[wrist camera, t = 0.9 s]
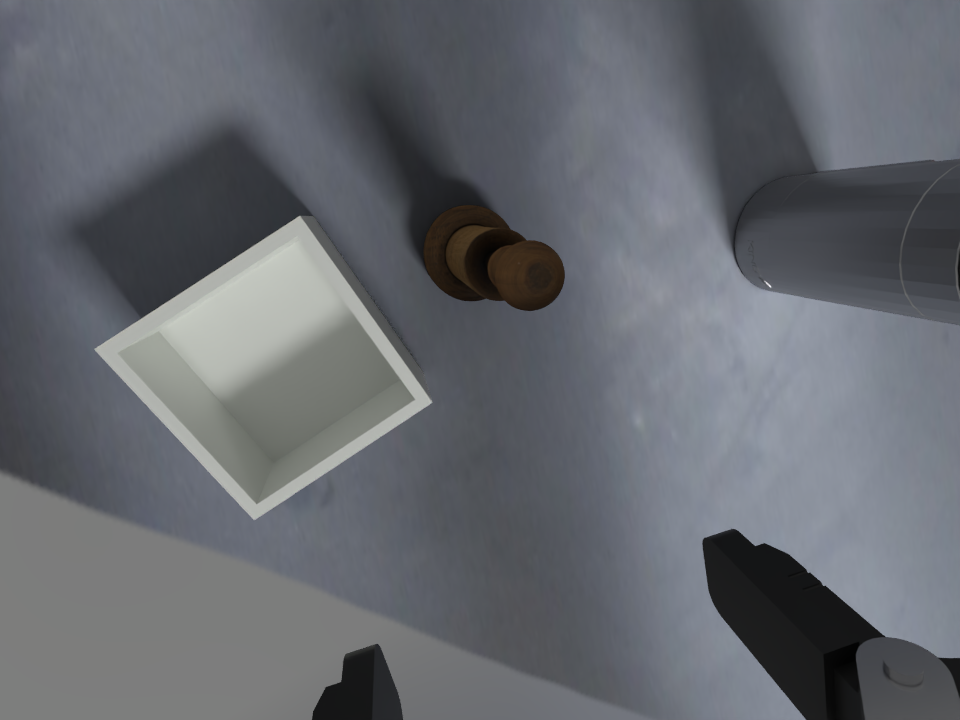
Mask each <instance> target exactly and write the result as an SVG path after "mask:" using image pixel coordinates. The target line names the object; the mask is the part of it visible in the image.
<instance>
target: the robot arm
mask: <svg viewBox="0 0 960 720" xmlns="http://www.w3.org/2000/svg"><path fill="white" fill-rule="evenodd" d="M735 252H736V258H737V261H738V264H739V267H740V269H741V270H742V272H743V274H744V276H745V277H746V278H747V279H748V280H749V281H750V282H751V283H752V284H754V285H756V286H757V287H759V288H761V289H764V290H768V291H772V292H778V293H783V294H789V295H794V296H800V297H804V298H810V299H815V300H821V301H826V302H832V303H837V304H843V305H848V306H854V307H860V308H865V309H871V310H876V311H882V312H887V313H893V314H899V315H904V316H910V317H915V318H921V319H926V320H932V321H937V322H943V323H950V324H955V325H960V159H954V160H944V161H934V160H925V161H915V162H906V163H896V164H887V165H878V166H868V167H859V168H849V169H840V170H831V171H821V172H816V173H815V174H807V175H798V176H789V177H782V178H779V179H777V180H774V181H772V182H770V183H768V184H767V185H765V186H764V187H762V188H761V189H760V190H759V191H758V192H757V193H756V194H755V195H754V196H753V197H752V198H751V199H750V201H749V202H748V204H747V205H746V206H745V208H744V210H743V212H742V214H741V217H740V219H739V222H738V226H737V229H736V235H735ZM703 552H704V560H705V567H706V575H707V582H708V589H709V593H710V596H711V599H712V601H713V603H714V605H715V607H716V609H717V611H718V612H719V614H720V615H721V617H722V618H723V619H724V620H725V621H726V623H727V624H728V625H729V626H730V628H731V629H732V630H733V631H734V632H735V634H736V635H737V636H738V637H739V638H740V640H741V641H742V642H743V643H744V645H745V646H746V647H747V648H748V649H749V651H750V652H751V653H752V654H753V656H754V657H755V658H756V659H757V660H758V662H759V663H760V664H761V665H762V666H763V668H764V669H765V670H766V671H767V673H768V674H769V675H770V676H771V677H772V679H773V680H774V681H775V682H776V683H777V685H778V686H779V687H780V688H781V690H782V691H783V692H784V693H785V694H786V696H787V697H788V698H789V699H790V700H791V702H792V703H793V704H794V705H795V707H796V708H797V709H798V710H799V711H800V713H801V714H802V715H803V716H804V718H805V719H806V720H960V658H938V657H936V656H935V655H934V654H932V653H931V652H929V651H928V650H926V649H924V648H923V647H921V646H919V645H916V644H914V643H911V642H908V641H905V640H902V639H897V638H889V637H885V636H884V635H882V634H881V633H880V632H879V631H878V630H877V629H875V628H874V627H873V626H872V625H871V624H870V623H868V622H867V621H866V620H865V619H864V618H862V617H861V616H860V615H859V614H858V613H857V612H855V611H854V610H853V609H852V608H851V607H850V606H848V605H847V604H846V603H845V602H844V601H843V600H841V599H840V598H839V597H838V596H837V595H836V594H834V593H833V592H832V591H831V590H830V589H829V588H827V587H826V586H823V585H822V583H821V582H820V581H819V580H818V579H817V578H816V577H814V576H813V575H812V574H811V573H808V572H807V570H806V569H805V568H804V567H803V566H802V565H800V564H799V563H798V562H797V561H796V560H795V559H793V558H792V557H791V556H790V555H789V554H787V553H785V552H783V551H780V550H778V549H776V548H774V547H772V546H770V545H767V544H765V543H764V544H761V545H758V546H754V545H753V544H752V543H751V542H750V541H749V540H748V539H746V538H745V537H744V536H743V535H742V534H741V533H740V532H739V531H737V530H735V529H731V530H727V531H724V532H721V533H718V534H715V535H712V536H709V537H706V538H704V539H703ZM312 720H403V716H402V709H401V703H400V699H399V695H398V692H397V689H396V687H395V684H394V682H393V679H392V676H391V674H390V671H389V668H388V666H387V663H386V660H385V658H384V655H383V653H382V650H381V648H380V646H379V645H378V644H375V645H372V646H369V647H366V648H363V649H360V650H356V651H354V652H350V653H347V654H346V655H345V657H344V662H343V671H342V680H341V682H340V683H337V684H334V685H331V686H328V687H326V688H325V690H324V692H323V694H322V696H321V698H320V700H319V701H318V703H317V705H316V707H315V709H314V711H313V717H312Z"/></svg>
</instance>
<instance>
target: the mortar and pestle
mask: <svg viewBox="0 0 960 720" xmlns="http://www.w3.org/2000/svg"><path fill="white" fill-rule="evenodd" d="M424 262H425V266H426V269H427V271H428V273H429V275H430V277H431V279H432V280H433V281H434V283H435V284H436V285H437V286H438V287H439V288H440V289H441V290H442V291H444V292H445V293H446V294H448V295H450V296H452V297H454V298H456V299H459V300H464V301H479V300H483V299H486V298H487V299H490V300H495V301H504V300H505V301H506V302H507V303H508V304H509V305H511V306H513V307H515V308H517V309H520V310H525V311H533V310H538V309H541V308H544V307H546V306H547V305H549V304H550V303H552V302H553V301H554V300H555V299H556V298H557V296H558V295H559V293H560V291H561V289H562V287H563V284H564V278H565V272H564V266H563V263H562V261H561V259H560V257H559V255H558V254H557V253H556V252H555V251H554V250H553V249H552V248H551V247H549V246H548V245H546V244H544V243H542V242H538V241H531V240H529V241H527V240H526V239H525V238H524V237H523V236H521V235H520V234H519V233H517V232H515V231H513V230H510V228H509V226H508V225H507V223H506V222H505V221H504V220H503V219H502V218H501V217H500V216H499V215H497V214H496V213H495V212H493V211H491V210H489V209H487V208H484V207H480V206H474V205H463V206H457V207H454V208H451V209H449V210H447V211H445V212H444V213H442V214H441V215H440V216H439V217H438V218H437V219H436V220H435V221H434V222H433V224H432V225H431V227H430V229H429V231H428V233H427V235H426V239H425V243H424Z"/></svg>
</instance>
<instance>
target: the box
mask: <svg viewBox="0 0 960 720" xmlns="http://www.w3.org/2000/svg"><path fill="white" fill-rule="evenodd" d="M94 350H95V351H96V352H97V353H98V354H99V355H100V356H101V357H102V358H103V359H104V360H105V361H106V363H107V364H108V365H109V366H110V367H111V368H112V369H113V370H114V371H115V372H116V373H117V374H118V375H119V376H120V377H121V379H122V380H123V381H124V382H125V383H126V384H127V385H128V386H129V387H130V388H131V389H132V390H133V391H134V392H135V393H136V395H137V396H138V397H139V398H140V399H141V400H142V401H143V402H144V403H145V404H146V405H147V406H148V407H149V408H150V410H151V411H152V412H153V413H154V414H155V415H156V416H157V417H158V418H159V419H160V420H161V421H162V422H163V423H164V424H165V426H166V427H167V428H168V429H169V430H170V431H171V432H172V433H173V434H174V435H175V436H176V437H177V438H178V439H179V440H180V442H181V443H182V444H183V445H184V446H185V447H186V448H187V449H188V450H189V451H190V452H191V453H192V454H193V455H194V456H195V458H196V459H197V460H198V461H199V462H200V463H201V464H202V465H203V466H204V467H205V468H206V469H207V470H208V471H209V472H210V474H211V475H212V476H213V477H214V478H215V479H216V480H217V481H218V482H219V483H220V484H221V485H222V486H223V487H224V488H225V490H226V491H227V492H228V493H229V494H230V495H231V496H232V497H233V498H234V499H235V500H236V501H237V502H238V503H239V505H240V506H241V507H242V508H243V509H244V510H245V511H246V512H247V513H248V514H249V515H250V516H251V517H252V518H253V519H254V520H255V519H257V518H259V517H260V516H262V515H263V514H265V513H266V512H268V511H269V510H271V509H272V508H274V507H275V506H277V505H278V504H280V503H281V502H283V501H284V500H286V499H287V498H289V497H290V496H292V495H293V494H295V493H296V492H298V491H299V490H301V489H302V488H304V487H305V486H307V485H308V484H310V483H311V482H313V481H314V480H316V479H317V478H319V477H321V476H322V475H324V474H325V473H327V472H328V471H330V470H331V469H333V468H334V467H336V466H337V465H339V464H340V463H342V462H343V461H345V460H346V459H348V458H349V457H351V456H352V455H354V454H355V453H357V452H358V451H360V450H361V449H363V448H364V447H366V446H367V445H369V444H370V443H372V442H373V441H375V440H376V439H378V438H380V437H381V436H383V435H384V434H386V433H387V432H389V431H390V430H392V429H393V428H395V427H396V426H398V425H399V424H401V423H402V422H404V421H405V420H407V419H408V418H410V417H411V416H413V415H414V414H416V413H417V412H419V411H420V410H422V409H423V408H425V407H426V406H428V405H429V404H431V403H432V399H431V396H430V392H429V389H428V386H427V383H426V380H425V376H424V373H423V371H422V370H421V368H420V367H419V366H418V364H417V363H416V361H415V360H414V358H413V357H412V356H411V354H410V353H409V351H408V350H407V348H406V347H405V346H404V344H403V343H402V341H401V340H400V338H399V337H398V336H397V334H396V333H395V331H394V330H393V328H392V327H391V326H390V324H389V323H388V321H387V320H386V319H385V317H384V316H383V314H382V313H381V311H380V310H379V309H378V307H377V306H376V304H375V303H374V301H373V300H372V299H371V297H370V296H369V294H368V293H367V291H366V290H365V289H364V287H363V286H362V284H361V283H360V281H359V280H358V279H357V277H356V276H355V274H354V273H353V271H352V270H351V269H350V267H349V266H348V264H347V263H346V261H345V260H344V259H343V257H342V256H341V254H340V253H339V252H338V250H337V249H336V247H335V246H334V244H333V243H332V242H331V240H330V239H329V237H328V236H327V234H326V233H325V232H324V230H323V229H322V227H321V226H320V224H319V223H318V222H317V220H316V219H315V217H314V216H299V217H297V218H296V219H294V220H293V221H291V222H289V223H288V224H286V225H285V226H283V227H282V228H280V229H279V230H277V231H276V232H274V233H273V234H271V235H269V236H268V237H266V238H265V239H263V240H262V241H260V242H259V243H257V244H256V245H254V246H253V247H251V248H249V249H248V250H246V251H245V252H243V253H242V254H240V255H239V256H237V257H236V258H234V259H233V260H231V261H229V262H228V263H226V264H225V265H223V266H222V267H220V268H219V269H217V270H216V271H214V272H213V273H211V274H209V275H208V276H206V277H205V278H203V279H202V280H200V281H199V282H197V283H196V284H194V285H193V286H191V287H189V288H188V289H186V290H185V291H183V292H182V293H180V294H179V295H177V296H176V297H174V298H173V299H171V300H169V301H168V302H166V303H165V304H163V305H162V306H160V307H159V308H157V309H156V310H154V311H152V312H151V313H149V314H148V315H146V316H145V317H143V318H142V319H140V320H139V321H137V322H136V323H134V324H132V325H131V326H129V327H128V328H126V329H125V330H123V331H122V332H120V333H119V334H117V335H116V336H114V337H112V338H111V339H109V340H108V341H106V342H105V343H103V344H102V345H100V346H99V347H97V348H96V349H94Z"/></svg>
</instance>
